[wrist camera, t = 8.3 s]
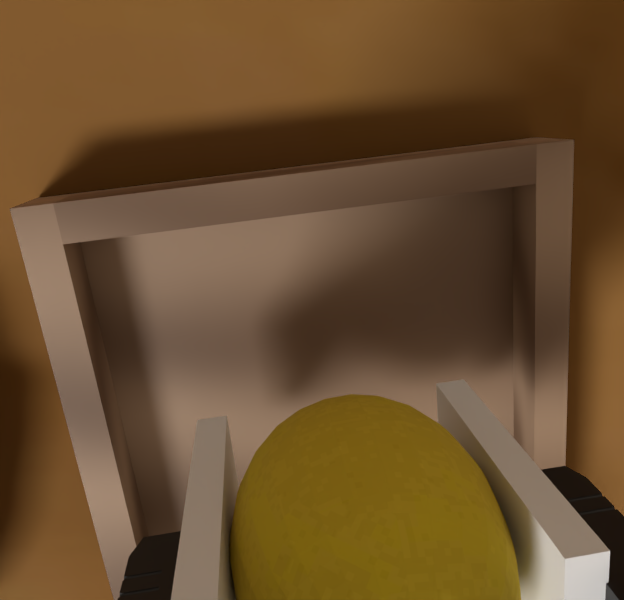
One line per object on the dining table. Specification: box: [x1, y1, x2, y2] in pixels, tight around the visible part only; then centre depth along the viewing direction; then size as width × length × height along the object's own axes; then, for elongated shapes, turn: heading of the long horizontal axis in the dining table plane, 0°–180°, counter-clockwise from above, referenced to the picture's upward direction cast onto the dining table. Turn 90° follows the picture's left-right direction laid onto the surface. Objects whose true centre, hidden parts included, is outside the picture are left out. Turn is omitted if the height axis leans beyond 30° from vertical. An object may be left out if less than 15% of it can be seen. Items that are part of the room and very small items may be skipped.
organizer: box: [10, 137, 574, 600], centre depth 19 cm, size 22×14×2 cm, turn 6°
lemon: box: [229, 394, 521, 600], centre depth 12 cm, size 6×6×8 cm
